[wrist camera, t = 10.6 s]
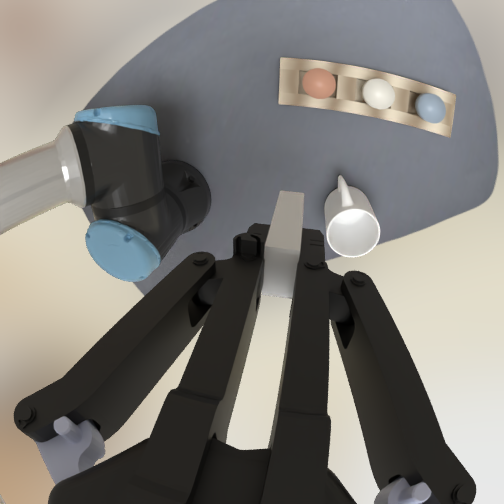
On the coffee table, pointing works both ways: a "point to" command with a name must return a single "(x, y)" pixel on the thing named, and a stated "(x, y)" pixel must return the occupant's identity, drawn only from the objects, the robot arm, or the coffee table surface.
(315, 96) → the terracotta ball
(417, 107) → the slate ball
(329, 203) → the mug
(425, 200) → the coffee table surface
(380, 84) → the cream rounded piece
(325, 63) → the three-ball wooden rack
